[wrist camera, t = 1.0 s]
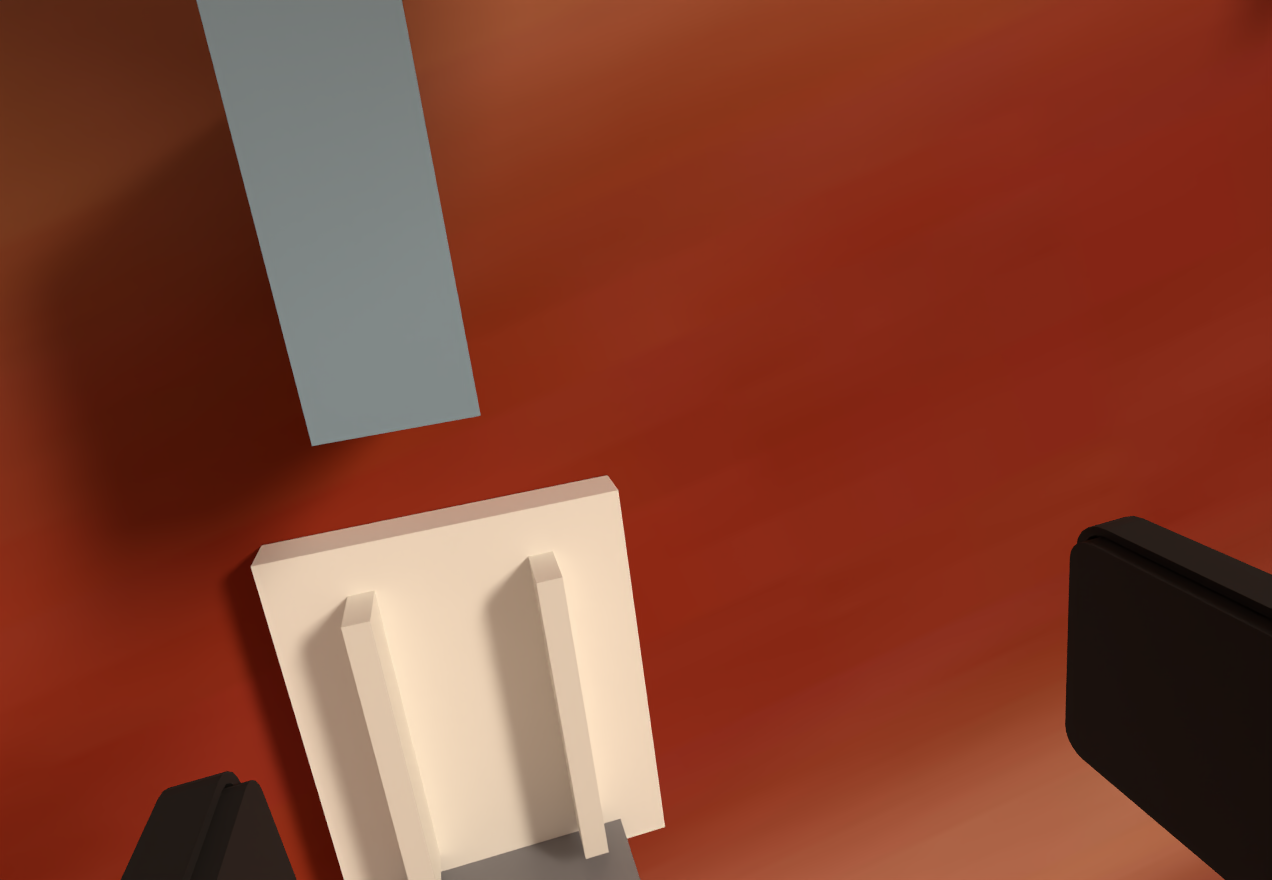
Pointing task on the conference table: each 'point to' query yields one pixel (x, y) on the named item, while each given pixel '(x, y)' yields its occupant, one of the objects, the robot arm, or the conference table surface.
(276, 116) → the gray rectangular block
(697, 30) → the conference table surface
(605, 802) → the cream railed panel
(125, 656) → the conference table surface
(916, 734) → the conference table surface
